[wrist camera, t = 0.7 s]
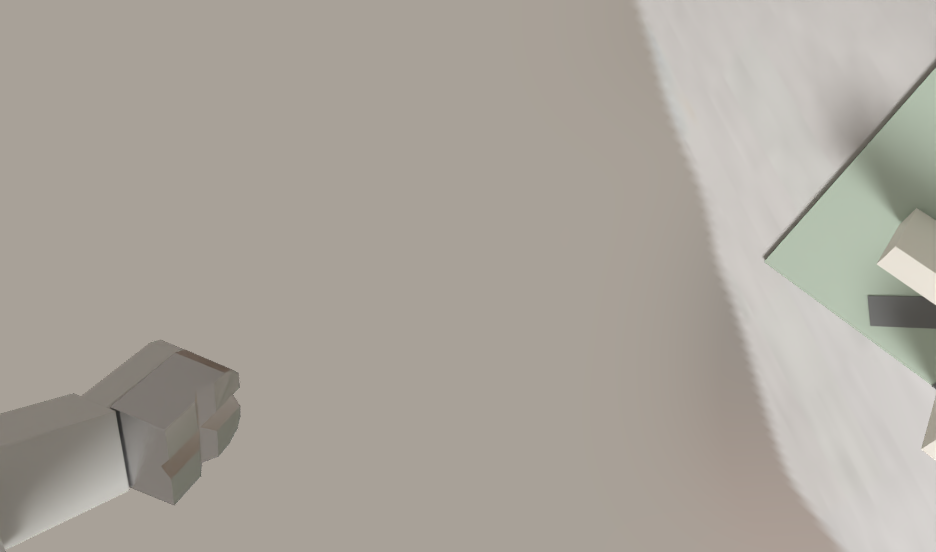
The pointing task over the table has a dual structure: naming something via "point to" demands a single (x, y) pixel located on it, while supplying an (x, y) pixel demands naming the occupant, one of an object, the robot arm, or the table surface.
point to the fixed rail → (931, 435)
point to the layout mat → (873, 237)
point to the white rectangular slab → (913, 254)
